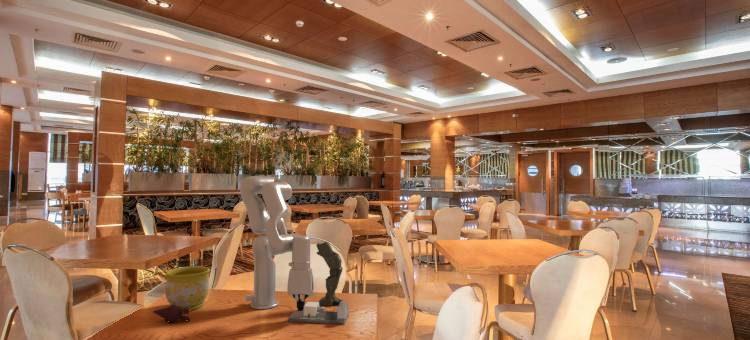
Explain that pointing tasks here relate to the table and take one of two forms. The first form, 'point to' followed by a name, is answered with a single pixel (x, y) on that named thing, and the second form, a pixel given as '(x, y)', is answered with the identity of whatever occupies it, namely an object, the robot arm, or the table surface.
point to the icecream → (172, 313)
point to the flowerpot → (187, 286)
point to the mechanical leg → (335, 273)
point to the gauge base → (323, 316)
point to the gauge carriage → (312, 309)
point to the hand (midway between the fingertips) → (300, 310)
